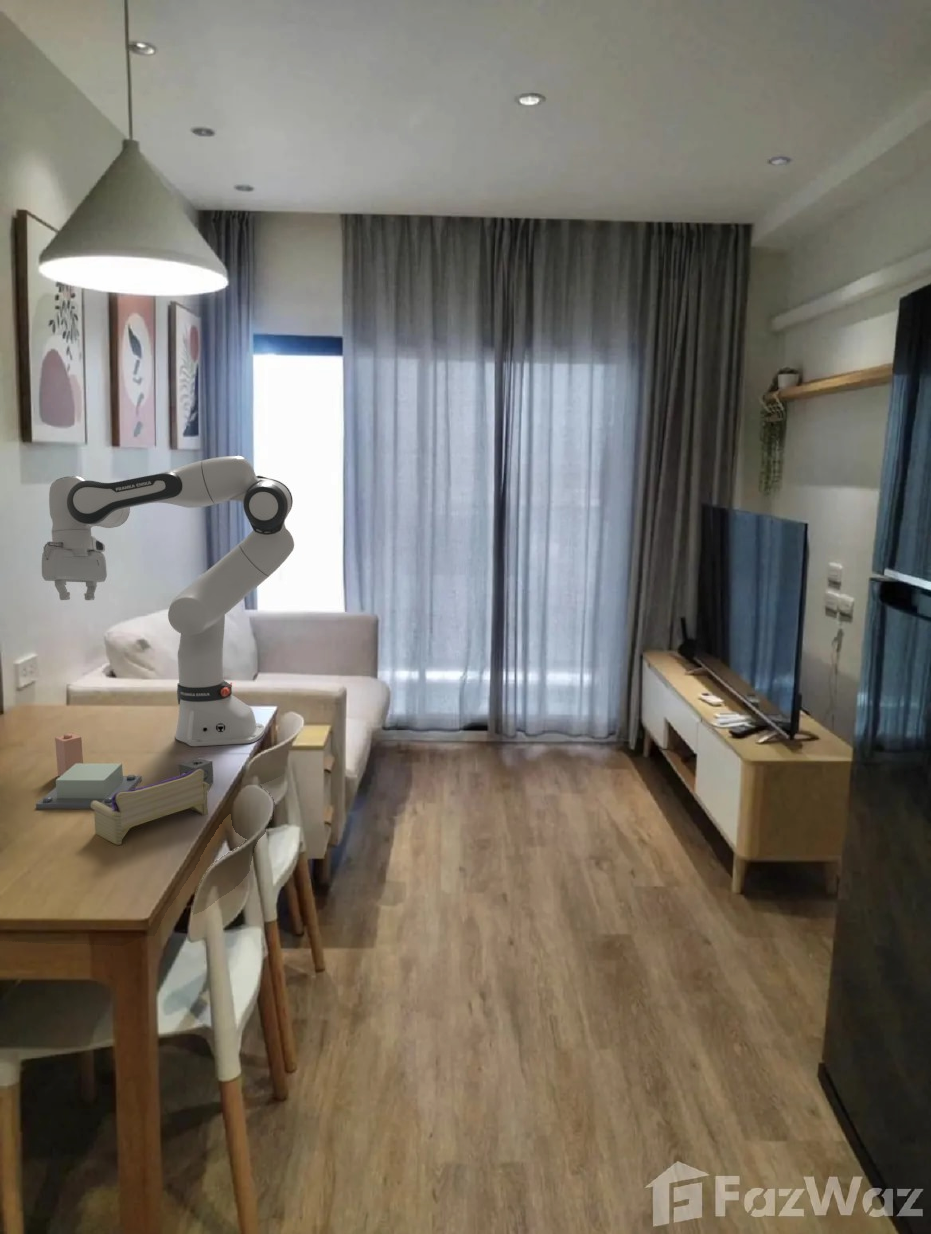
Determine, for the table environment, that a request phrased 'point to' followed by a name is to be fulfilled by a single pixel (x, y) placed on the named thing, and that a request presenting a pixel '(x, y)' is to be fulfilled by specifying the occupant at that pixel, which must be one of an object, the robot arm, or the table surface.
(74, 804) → the tower base
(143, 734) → the table surface
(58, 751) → the pillar brick
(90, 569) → the robot arm
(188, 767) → the dice cube
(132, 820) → the toy sofa
